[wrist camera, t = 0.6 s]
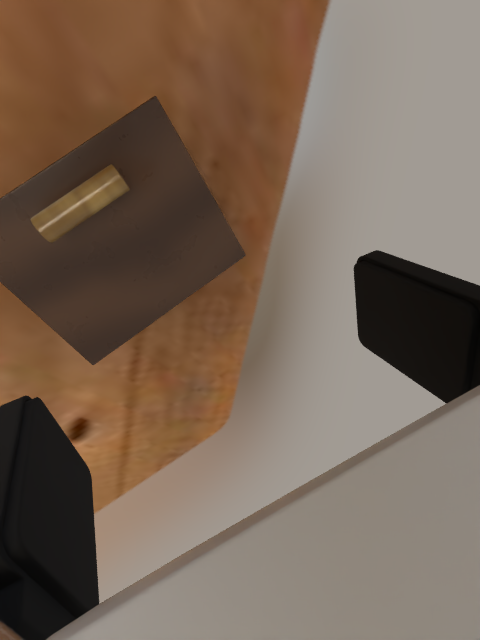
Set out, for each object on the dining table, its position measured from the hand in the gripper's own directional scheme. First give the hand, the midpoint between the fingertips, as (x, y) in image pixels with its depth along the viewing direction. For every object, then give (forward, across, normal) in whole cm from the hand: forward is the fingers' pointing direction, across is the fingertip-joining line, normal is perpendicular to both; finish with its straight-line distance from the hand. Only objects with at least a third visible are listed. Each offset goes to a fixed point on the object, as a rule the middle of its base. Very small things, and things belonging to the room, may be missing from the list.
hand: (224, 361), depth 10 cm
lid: (+22, +1, +1) cm, 22 cm away
